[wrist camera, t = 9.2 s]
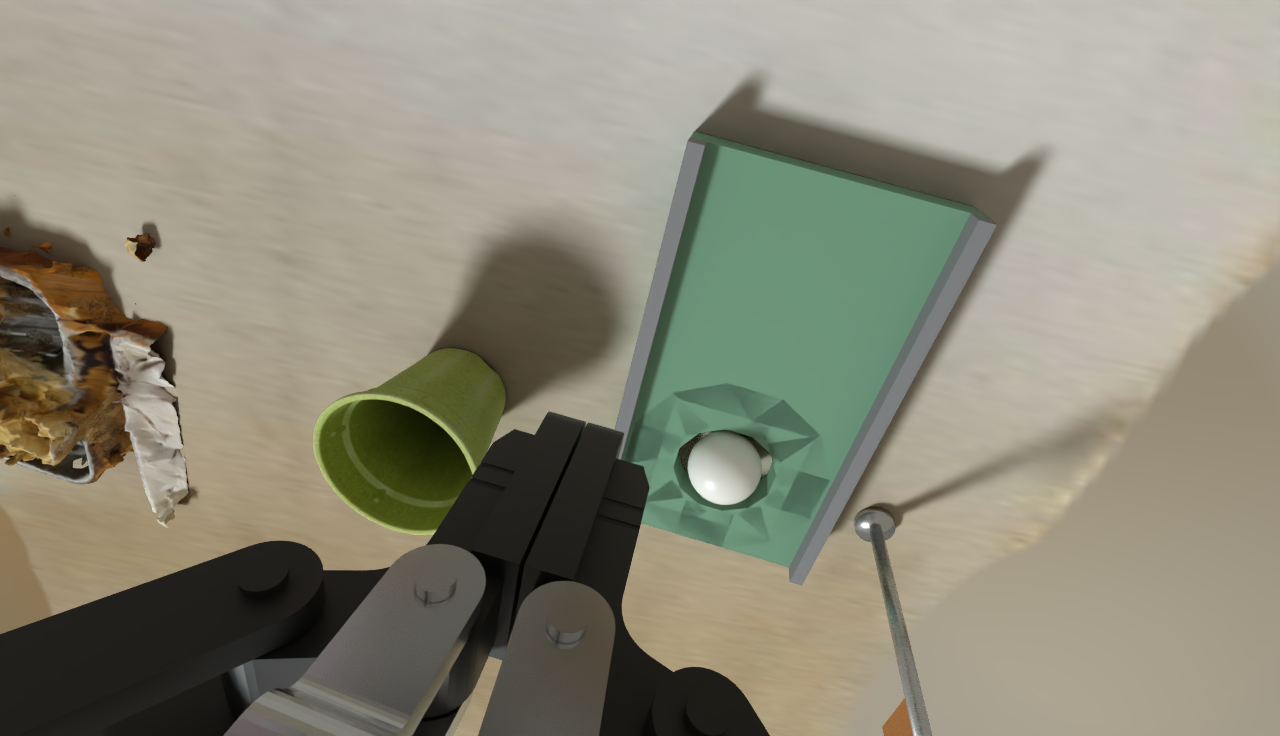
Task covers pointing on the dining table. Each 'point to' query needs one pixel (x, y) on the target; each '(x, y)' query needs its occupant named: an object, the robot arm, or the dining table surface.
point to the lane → (785, 336)
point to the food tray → (83, 378)
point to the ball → (724, 467)
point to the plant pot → (411, 440)
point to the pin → (895, 627)
